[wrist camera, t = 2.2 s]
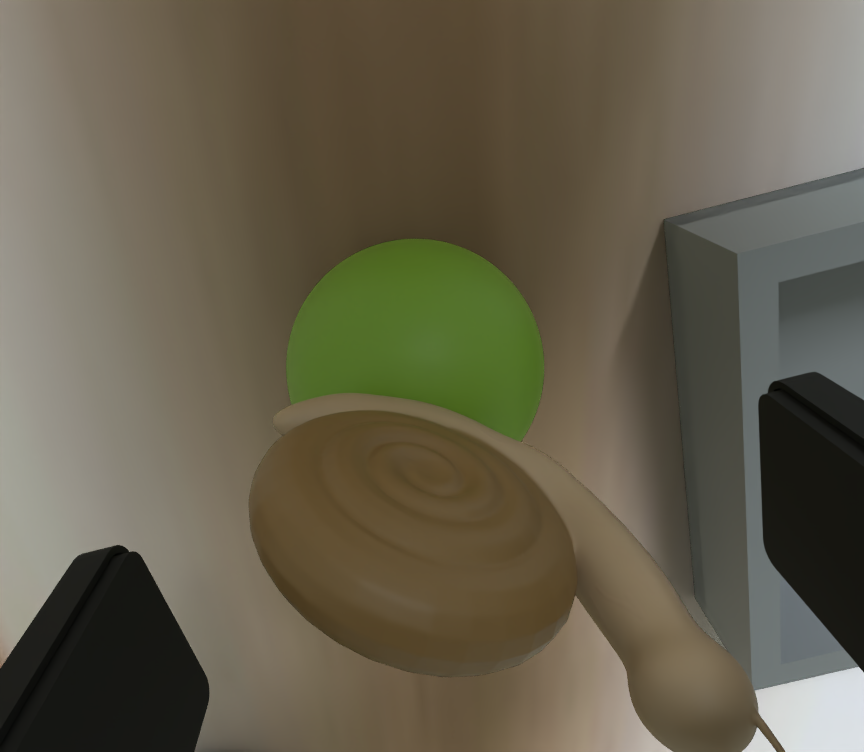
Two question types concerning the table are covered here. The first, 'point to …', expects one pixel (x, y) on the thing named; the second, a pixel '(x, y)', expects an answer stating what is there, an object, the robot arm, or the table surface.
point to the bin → (759, 393)
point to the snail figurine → (461, 499)
